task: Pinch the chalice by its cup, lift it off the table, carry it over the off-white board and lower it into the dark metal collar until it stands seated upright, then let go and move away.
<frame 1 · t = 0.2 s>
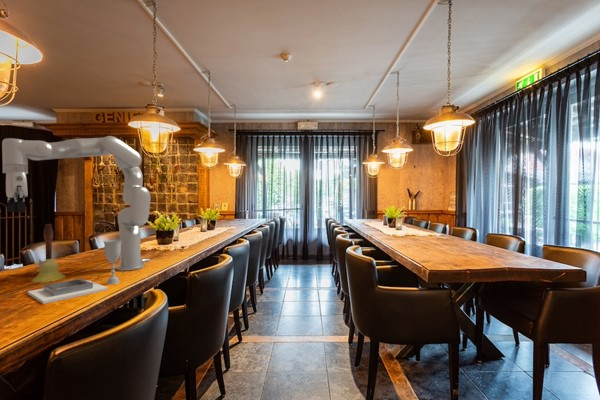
hand: (16, 211, 126), 31 cm above the table, tool pointing down, fingers open, 9 cm apart
lily: (43, 273, 153), on the table
board: (68, 291, 120), on the table
handbell: (49, 279, 141), on the table
chalice: (113, 283, 133), on the table
collar: (68, 286, 120), on the board, point 1 cm above the table
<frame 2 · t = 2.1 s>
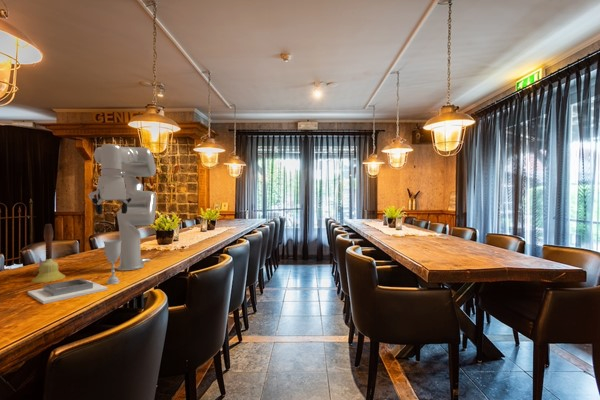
hand: (112, 213, 133), 30 cm above the table, tool pointing down, fingers open, 9 cm apart
nothing on the table moved.
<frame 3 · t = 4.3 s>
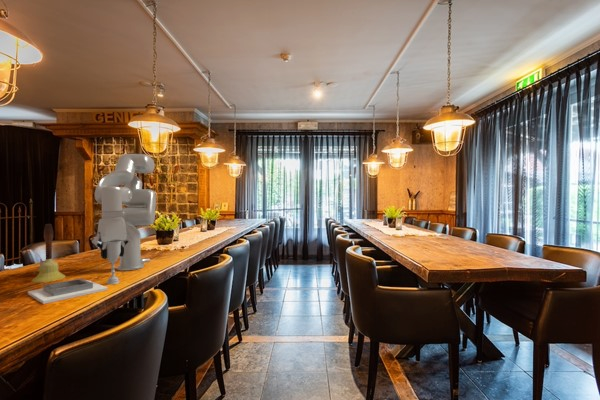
hand: (112, 257, 133), 11 cm above the table, tool pointing down, fingers closed on chalice, 5 cm apart
chalice: (113, 283, 133), on the table, touching gripper
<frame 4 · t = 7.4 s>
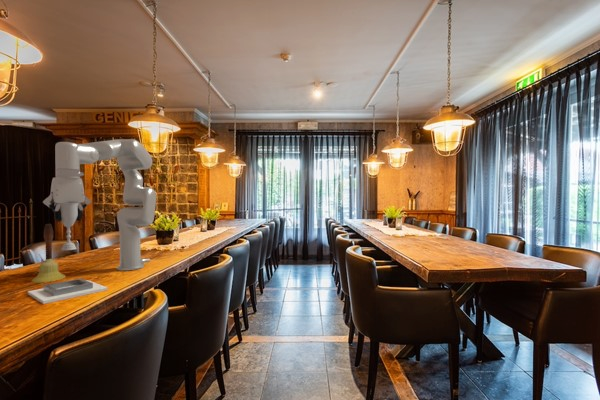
hand: (68, 220, 121), 28 cm above the table, tool pointing down, fingers closed on chalice, 5 cm apart
chalice: (68, 249, 121), point 16 cm above the table, touching gripper
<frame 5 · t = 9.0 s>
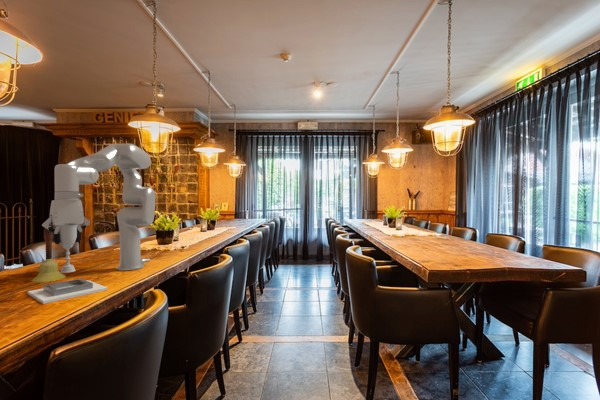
hand: (67, 242, 120), 19 cm above the table, tool pointing down, fingers closed on chalice, 5 cm apart
chalice: (67, 271, 120), point 8 cm above the table, touching gripper
when the fingers open (13 cm above the table, at t = 10.5 s): chalice drops 1 cm, resting on board.
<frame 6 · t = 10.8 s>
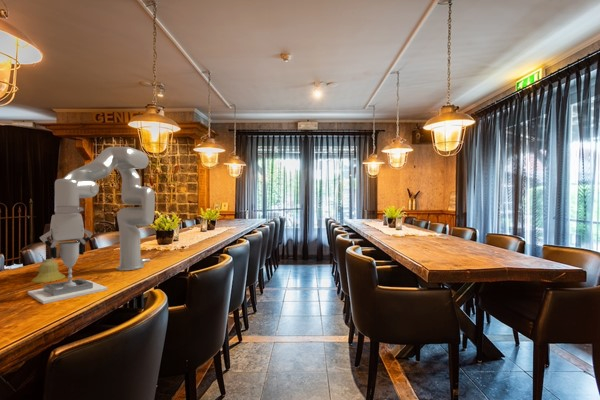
hand: (68, 255, 120), 14 cm above the table, tool pointing down, fingers open, 8 cm apart
chalice: (70, 289, 121), point 1 cm above the table, touching board
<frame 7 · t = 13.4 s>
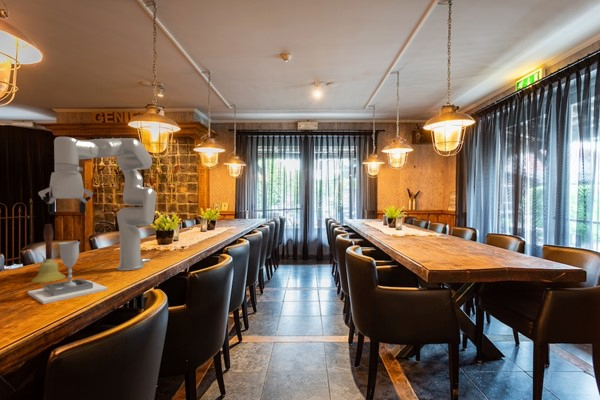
hand: (67, 213, 120), 30 cm above the table, tool pointing down, fingers open, 9 cm apart
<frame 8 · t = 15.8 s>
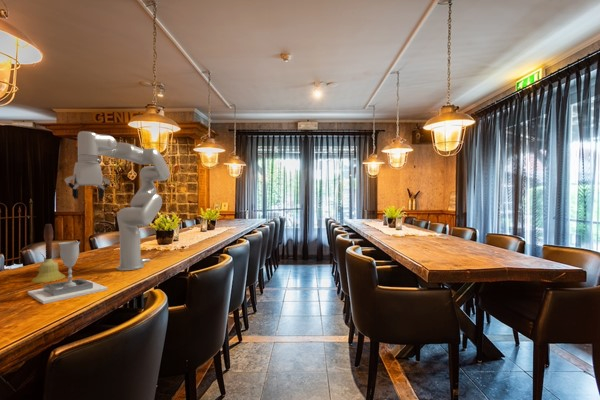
hand: (88, 198, 138), 36 cm above the table, tool pointing down, fingers open, 9 cm apart
at the end: chalice 0.6 cm off-centre on the board, point 0.8 cm above the board's base; chalice tilted 0°; the gripper is holding nothing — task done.
